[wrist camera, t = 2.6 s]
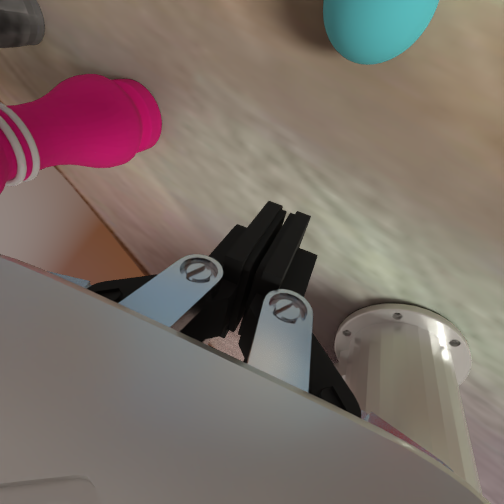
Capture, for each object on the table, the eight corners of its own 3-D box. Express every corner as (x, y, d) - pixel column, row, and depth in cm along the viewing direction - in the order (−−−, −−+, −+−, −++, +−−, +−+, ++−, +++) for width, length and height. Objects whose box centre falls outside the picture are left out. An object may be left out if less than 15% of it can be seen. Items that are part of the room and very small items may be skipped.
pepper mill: (145, 168, 32) (-96, 274, 16) (93, 113, 31) (-221, 168, 15) (180, 118, 27) (-100, 194, 12) (122, 52, 26) (-278, 36, 10)
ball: (364, 85, 21) (358, 91, 16) (313, 9, 20) (290, -7, 15) (456, 6, 18) (481, -15, 13) (399, -90, 17) (404, -151, 12)
